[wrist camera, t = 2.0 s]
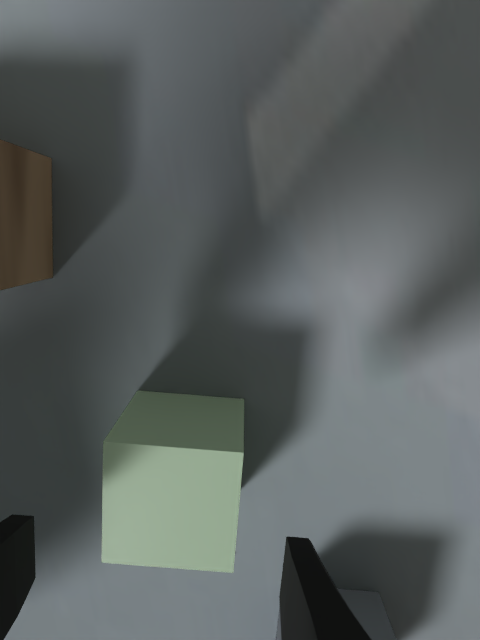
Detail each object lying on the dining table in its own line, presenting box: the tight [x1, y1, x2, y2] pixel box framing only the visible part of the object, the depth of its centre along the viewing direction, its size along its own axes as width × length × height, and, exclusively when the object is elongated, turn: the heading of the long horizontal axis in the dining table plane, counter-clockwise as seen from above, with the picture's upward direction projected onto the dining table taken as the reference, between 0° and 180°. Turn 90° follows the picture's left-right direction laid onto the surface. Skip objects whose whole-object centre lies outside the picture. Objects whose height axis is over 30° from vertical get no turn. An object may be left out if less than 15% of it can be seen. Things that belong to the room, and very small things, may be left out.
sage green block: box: [102, 391, 244, 573], centre depth 16 cm, size 4×4×4 cm
